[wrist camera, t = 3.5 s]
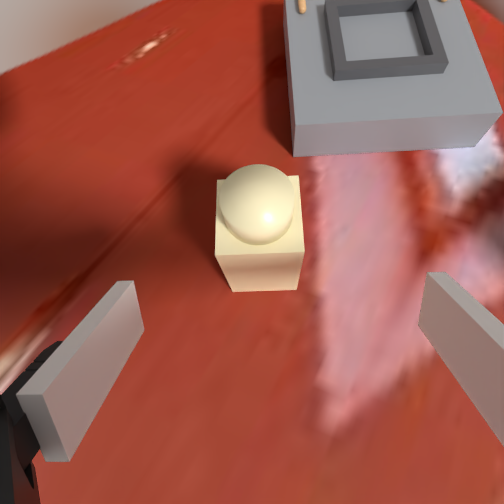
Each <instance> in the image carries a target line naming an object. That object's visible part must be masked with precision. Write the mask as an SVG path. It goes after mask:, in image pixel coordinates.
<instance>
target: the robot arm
mask: <svg viewBox="0 0 504 504" xmlns="http://www.w3.org/2000/svg"><path fill="white" fill-rule="evenodd" d="M418 326H419V327H420V329H421V330H422V331H423V333H424V334H425V336H426V337H427V339H428V340H429V341H430V343H431V344H432V346H433V347H434V348H435V350H436V351H437V353H438V354H439V356H440V357H441V358H442V360H443V361H444V363H445V364H446V366H447V367H448V368H449V370H450V371H451V373H452V374H453V375H454V377H455V378H456V380H457V381H458V383H459V384H460V385H461V387H462V388H463V390H464V391H465V392H466V394H467V395H468V397H469V398H470V400H471V401H472V402H473V404H474V405H475V407H476V408H477V410H478V411H479V412H480V414H481V415H482V417H483V418H484V419H485V421H486V422H487V424H488V425H489V427H490V428H491V429H492V431H493V432H494V434H495V435H496V436H497V438H498V439H499V441H500V442H501V444H502V445H503V446H504V324H502V323H501V322H500V321H499V320H498V319H497V318H496V317H495V316H494V315H493V314H491V313H490V312H489V311H488V310H487V309H486V308H485V307H484V306H483V305H481V304H480V303H479V302H478V301H477V300H476V299H475V298H474V297H473V296H471V295H470V294H469V293H468V292H467V291H466V290H465V289H464V288H463V287H461V286H460V285H459V284H458V283H457V282H456V281H455V280H454V279H453V278H451V277H450V276H449V275H448V274H447V273H446V272H427V275H426V281H425V287H424V293H423V298H422V304H421V310H420V316H419V322H418ZM143 332H144V326H143V321H142V317H141V312H140V308H139V303H138V299H137V294H136V290H135V285H134V281H117V282H116V283H115V284H114V285H113V286H112V288H111V289H110V290H109V291H108V292H107V293H106V294H105V295H104V297H103V298H102V299H101V300H100V301H99V302H98V303H97V304H96V305H95V307H94V308H93V309H92V310H91V311H90V312H89V313H88V314H87V316H86V317H85V318H84V319H83V320H82V321H81V322H80V323H79V324H78V326H77V327H76V328H75V329H74V330H73V331H72V332H71V333H70V335H69V336H68V337H67V338H66V339H65V340H64V341H57V342H55V343H54V344H52V345H51V346H49V347H48V348H46V349H45V350H43V351H42V352H41V354H40V355H39V356H38V357H37V358H36V359H35V360H34V362H33V363H31V364H30V365H29V366H28V367H27V368H26V369H25V370H26V371H25V372H23V373H22V374H21V375H20V376H19V377H18V378H17V379H16V380H15V381H14V382H13V383H12V384H11V385H10V386H9V387H8V388H7V390H6V391H5V392H4V393H3V394H2V395H0V504H40V498H39V491H38V485H37V478H36V472H35V467H34V465H33V463H32V459H33V458H34V456H35V455H36V453H37V452H38V450H39V449H40V450H41V452H42V454H43V457H44V459H45V461H46V462H70V460H71V458H72V456H73V455H74V453H75V451H76V449H77V448H78V446H79V444H80V442H81V441H82V439H83V437H84V435H85V434H86V432H87V430H88V428H89V427H90V425H91V423H92V421H93V420H94V418H95V416H96V414H97V413H98V411H99V409H100V407H101V405H102V404H103V402H104V400H105V398H106V397H107V395H108V393H109V391H110V390H111V388H112V386H113V384H114V383H115V381H116V379H117V377H118V376H119V374H120V372H121V370H122V369H123V367H124V365H125V363H126V362H127V360H128V358H129V356H130V354H131V353H132V351H133V349H134V347H135V346H136V344H137V342H138V340H139V339H140V337H141V335H142V333H143Z"/></svg>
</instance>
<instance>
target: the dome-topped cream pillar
mask: <svg viewBox="0 0 504 504" xmlns="http://www.w3.org/2000/svg"><path fill="white" fill-rule="evenodd" d="M304 252H305V251H304V238H303V225H302V213H301V200H300V188H299V176H286V175H285V174H284V173H283V172H281V171H280V170H278V169H276V168H274V167H271V166H268V165H261V164H255V165H249V166H245V167H242V168H240V169H238V170H236V171H234V172H233V173H232V174H230V175H229V176H228V177H227V179H224V180H217V201H216V235H215V257H216V259H217V261H218V263H219V265H220V267H221V269H222V271H223V273H224V275H225V277H226V279H227V281H228V283H229V285H230V287H231V289H232V291H233V292H241V291H272V290H297V285H298V280H299V276H300V271H301V266H302V262H303V257H304Z"/></svg>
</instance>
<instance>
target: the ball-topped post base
mask: <svg viewBox="0 0 504 504" xmlns="http://www.w3.org/2000/svg"><path fill="white" fill-rule="evenodd" d="M283 26H284V39H285V53H286V66H287V80H288V93H289V107H290V120H291V134H292V148H293V157H302V156H320V155H338V154H356V153H374V152H392V151H409V150H427V149H445V148H463V147H475V145H476V144H477V143H478V142H479V141H480V139H481V138H482V137H483V136H484V135H485V133H486V132H487V131H488V130H489V129H490V128H491V126H492V125H493V124H494V123H495V122H496V120H497V119H498V118H499V117H500V116H501V114H502V113H503V111H502V108H501V106H500V103H499V101H498V98H497V95H496V93H495V90H494V88H493V85H492V82H491V80H490V77H489V75H488V72H487V70H486V67H485V64H484V62H483V59H482V57H481V54H480V51H479V49H478V46H477V44H476V41H475V38H474V36H473V33H472V31H471V28H470V25H469V23H468V20H467V18H466V15H465V12H464V10H463V7H462V5H461V2H460V0H284V22H283Z"/></svg>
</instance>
